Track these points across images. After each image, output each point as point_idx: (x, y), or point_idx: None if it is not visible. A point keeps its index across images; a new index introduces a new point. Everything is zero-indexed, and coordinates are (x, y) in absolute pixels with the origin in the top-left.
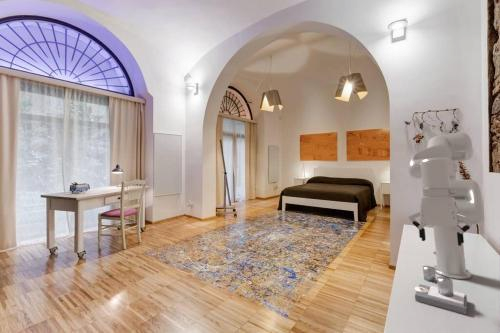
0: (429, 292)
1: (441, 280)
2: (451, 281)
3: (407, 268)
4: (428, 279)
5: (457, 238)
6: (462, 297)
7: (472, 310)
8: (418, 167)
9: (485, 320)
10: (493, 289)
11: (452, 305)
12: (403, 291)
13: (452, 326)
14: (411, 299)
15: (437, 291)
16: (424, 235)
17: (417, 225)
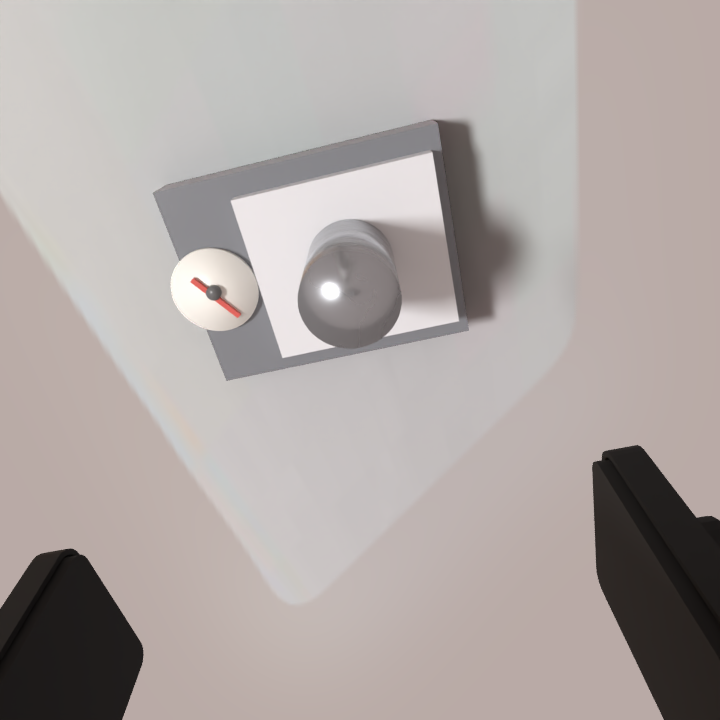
0: (276, 323)
1: (344, 347)
2: (400, 309)
3: None
4: None
5: (656, 698)
6: (436, 231)
7: (476, 233)
8: None
9: (538, 299)
10: None
11: (408, 339)
12: (125, 304)
13: (440, 460)
14: (214, 366)
15: (301, 266)
16: (81, 701)
17: None
